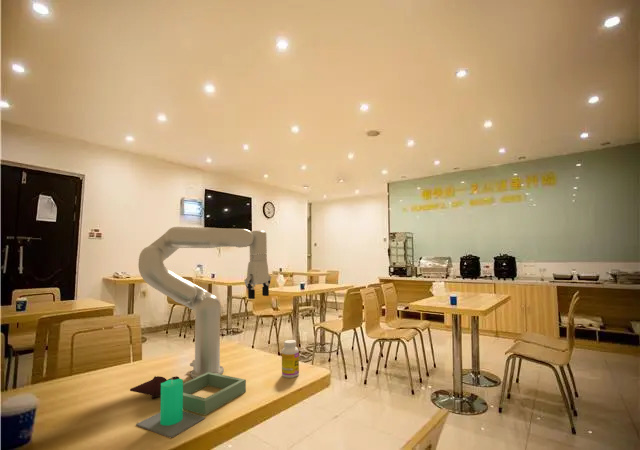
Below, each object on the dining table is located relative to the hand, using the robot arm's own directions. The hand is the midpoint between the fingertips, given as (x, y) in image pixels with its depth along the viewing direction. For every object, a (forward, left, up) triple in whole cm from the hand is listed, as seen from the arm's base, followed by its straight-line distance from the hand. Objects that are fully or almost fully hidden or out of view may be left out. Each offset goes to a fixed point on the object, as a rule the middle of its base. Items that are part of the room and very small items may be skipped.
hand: (258, 297), depth 143 cm
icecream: (-12, -41, -29) cm, 51 cm away
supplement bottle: (+20, -6, -28) cm, 35 cm away
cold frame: (+5, -34, -28) cm, 45 cm away
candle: (+8, -50, -28) cm, 58 cm away
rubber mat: (+8, -50, -28) cm, 58 cm away
